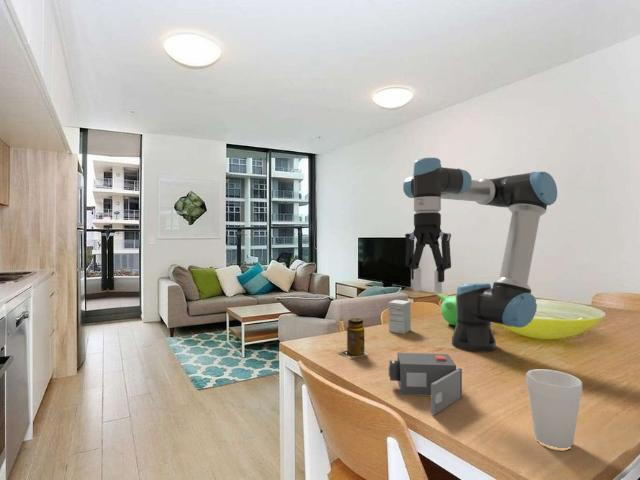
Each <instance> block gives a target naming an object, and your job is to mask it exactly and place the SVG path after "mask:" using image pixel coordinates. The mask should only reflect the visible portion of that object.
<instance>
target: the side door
mask: <svg viewBox="0 0 640 480" xmlns="http://www.w3.org/2000/svg"><path fill="white" fill-rule="evenodd" d="M462 370H463V369H462V368H456V370H455V371H453V372H451V373H450V374H448V375H446V376H444V377H442V378H441V379H439V380H437V381H435V382H433V383H431V395H430V414H431V415H432V416H433V415H434V416H435V415H436V414H438V413H439V412H441V411H443V410H444V409H445V408H447V407H448V406H450V405H451V404H453V403H454V402H456V401H457V400H459V399H461V398H462V397H463V391H462V390H463V389H462V388H463V381H462V380H463V377H462V376H463V375H462V374H463V371H462Z"/></svg>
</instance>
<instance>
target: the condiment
mask: <svg viewBox="0 0 640 480" xmlns="http://www.w3.org/2000/svg"><path fill="white" fill-rule="evenodd" d="M346 346H347V347H346V349H347V350H345V351H339V352H337V354H340V355H341V356H343V357H345V358H348V359H355V358H359V357H360V358H361V357H364V356H368V355H370V353H368V352H366V351H365V350H366V349H365V327H364V319H362V318H358V317H353V318H349V319H348V321H347V329H346ZM345 352H347V354H346V353H345ZM353 356H355V357H353Z"/></svg>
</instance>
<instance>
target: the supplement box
mask: <svg viewBox="0 0 640 480" xmlns="http://www.w3.org/2000/svg"><path fill="white" fill-rule="evenodd" d="M411 313H412V312H411V301H410V300H402V299H401V300H400V299H394V300H391V301H389V302H388V332H390V333H395V334H396V333H397V334H403V335H405V334H406V333H408V332H409V331H411V330H412V328H411V327H412V326H411V325H412V321H411V320H412V319H411V317H412V316H411Z"/></svg>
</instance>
